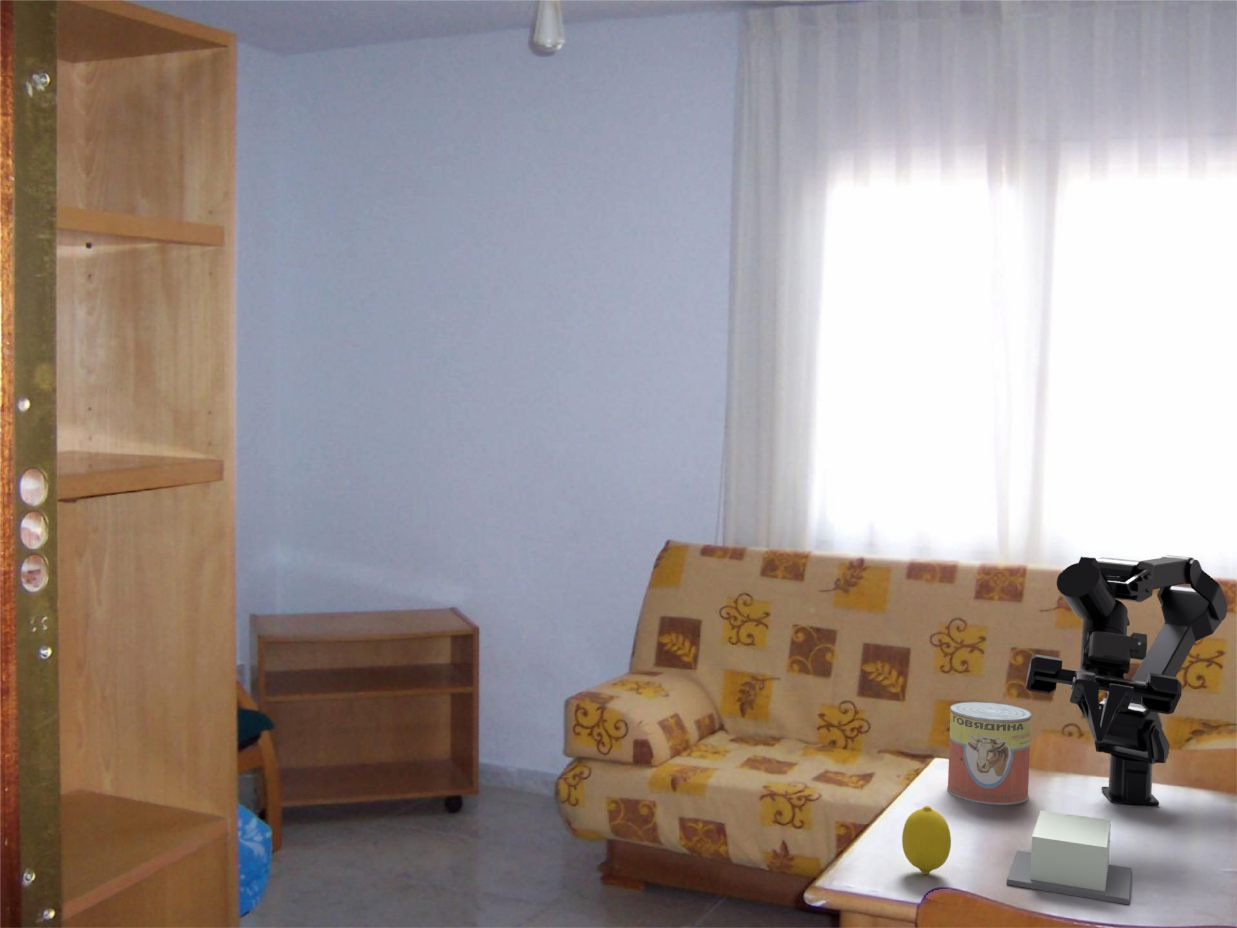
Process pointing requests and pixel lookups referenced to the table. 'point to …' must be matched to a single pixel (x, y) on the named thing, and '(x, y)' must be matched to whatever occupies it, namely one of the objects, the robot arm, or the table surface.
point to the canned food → (989, 753)
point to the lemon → (926, 839)
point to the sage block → (1070, 850)
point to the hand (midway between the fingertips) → (1099, 741)
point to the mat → (1113, 892)
